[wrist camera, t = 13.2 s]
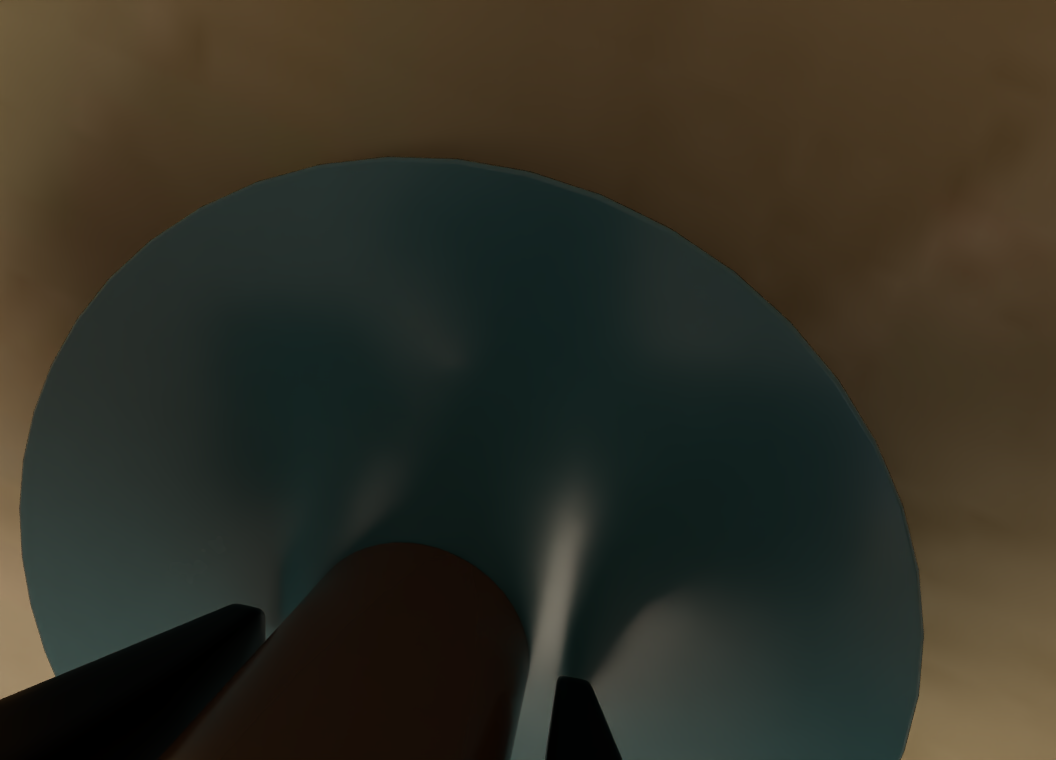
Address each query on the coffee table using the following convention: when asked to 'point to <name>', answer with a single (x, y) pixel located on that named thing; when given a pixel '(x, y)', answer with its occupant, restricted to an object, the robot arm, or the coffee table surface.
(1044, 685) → the coffee table surface
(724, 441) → the tin lid
